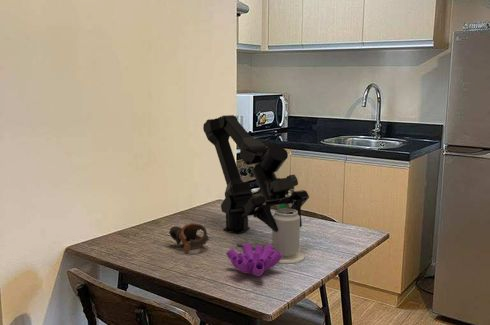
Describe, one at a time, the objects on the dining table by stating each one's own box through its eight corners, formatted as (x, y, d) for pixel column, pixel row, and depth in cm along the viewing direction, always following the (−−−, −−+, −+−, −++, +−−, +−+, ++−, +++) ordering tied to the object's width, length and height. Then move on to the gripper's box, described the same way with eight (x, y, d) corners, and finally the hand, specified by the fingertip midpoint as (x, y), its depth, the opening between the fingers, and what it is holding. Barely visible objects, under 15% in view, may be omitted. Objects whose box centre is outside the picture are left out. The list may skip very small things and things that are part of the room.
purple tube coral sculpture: (230, 291, 122) (213, 256, 125) (268, 273, 134) (251, 241, 136) (259, 275, 115) (240, 238, 118) (296, 257, 127) (278, 224, 129)
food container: (276, 214, 178) (277, 187, 176) (293, 214, 177) (294, 187, 175) (273, 224, 166) (274, 195, 164) (292, 225, 165) (292, 196, 163)
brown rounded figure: (210, 243, 148) (213, 225, 143) (200, 267, 141) (203, 248, 136) (173, 231, 150) (175, 212, 145) (161, 254, 143) (162, 235, 137)
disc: (260, 258, 135) (260, 257, 135) (279, 248, 143) (279, 246, 143) (293, 266, 130) (293, 264, 130) (310, 255, 138) (310, 253, 138)
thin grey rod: (236, 245, 145) (236, 242, 145) (238, 244, 146) (238, 241, 146) (269, 253, 139) (269, 250, 139) (271, 252, 140) (271, 249, 139)
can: (294, 259, 132) (295, 215, 129) (268, 254, 134) (268, 212, 132) (302, 250, 138) (303, 208, 136) (277, 246, 141) (278, 205, 139)
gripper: (249, 168, 131) (271, 219, 123) (306, 162, 140) (330, 209, 133) (235, 191, 139) (255, 240, 132) (289, 183, 148) (311, 229, 141)
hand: (288, 229), depth 134 cm, fingers closed on can, 7 cm apart
